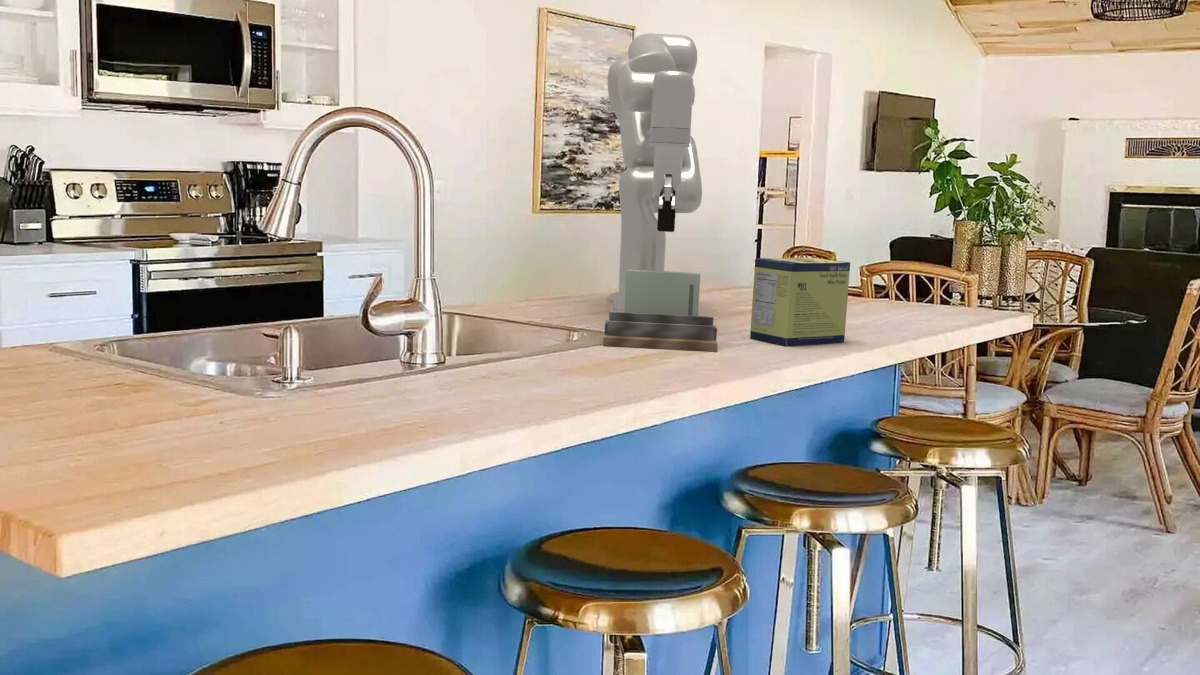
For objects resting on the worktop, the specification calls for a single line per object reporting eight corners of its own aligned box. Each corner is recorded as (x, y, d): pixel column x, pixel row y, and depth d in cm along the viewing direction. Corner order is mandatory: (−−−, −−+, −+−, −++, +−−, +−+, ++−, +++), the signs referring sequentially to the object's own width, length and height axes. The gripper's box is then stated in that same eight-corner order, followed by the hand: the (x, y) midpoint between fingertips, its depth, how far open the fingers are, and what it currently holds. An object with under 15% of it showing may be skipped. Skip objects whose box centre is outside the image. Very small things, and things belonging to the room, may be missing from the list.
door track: (603, 345, 207) (604, 317, 207) (606, 336, 219) (607, 309, 219) (716, 351, 207) (718, 323, 206) (713, 341, 218) (715, 314, 218)
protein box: (845, 342, 225) (851, 261, 223) (786, 347, 216) (791, 262, 214) (807, 335, 234) (812, 256, 231) (748, 338, 225) (753, 257, 222)
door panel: (623, 333, 225) (626, 270, 223) (623, 331, 228) (626, 269, 226) (696, 337, 224) (700, 274, 222) (696, 334, 227) (699, 272, 225)
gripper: (650, 139, 229) (646, 227, 232) (649, 136, 212) (645, 231, 214) (689, 141, 229) (684, 229, 231) (691, 138, 212) (686, 233, 214)
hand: (665, 230), depth 223 cm, fingers open, 9 cm apart
